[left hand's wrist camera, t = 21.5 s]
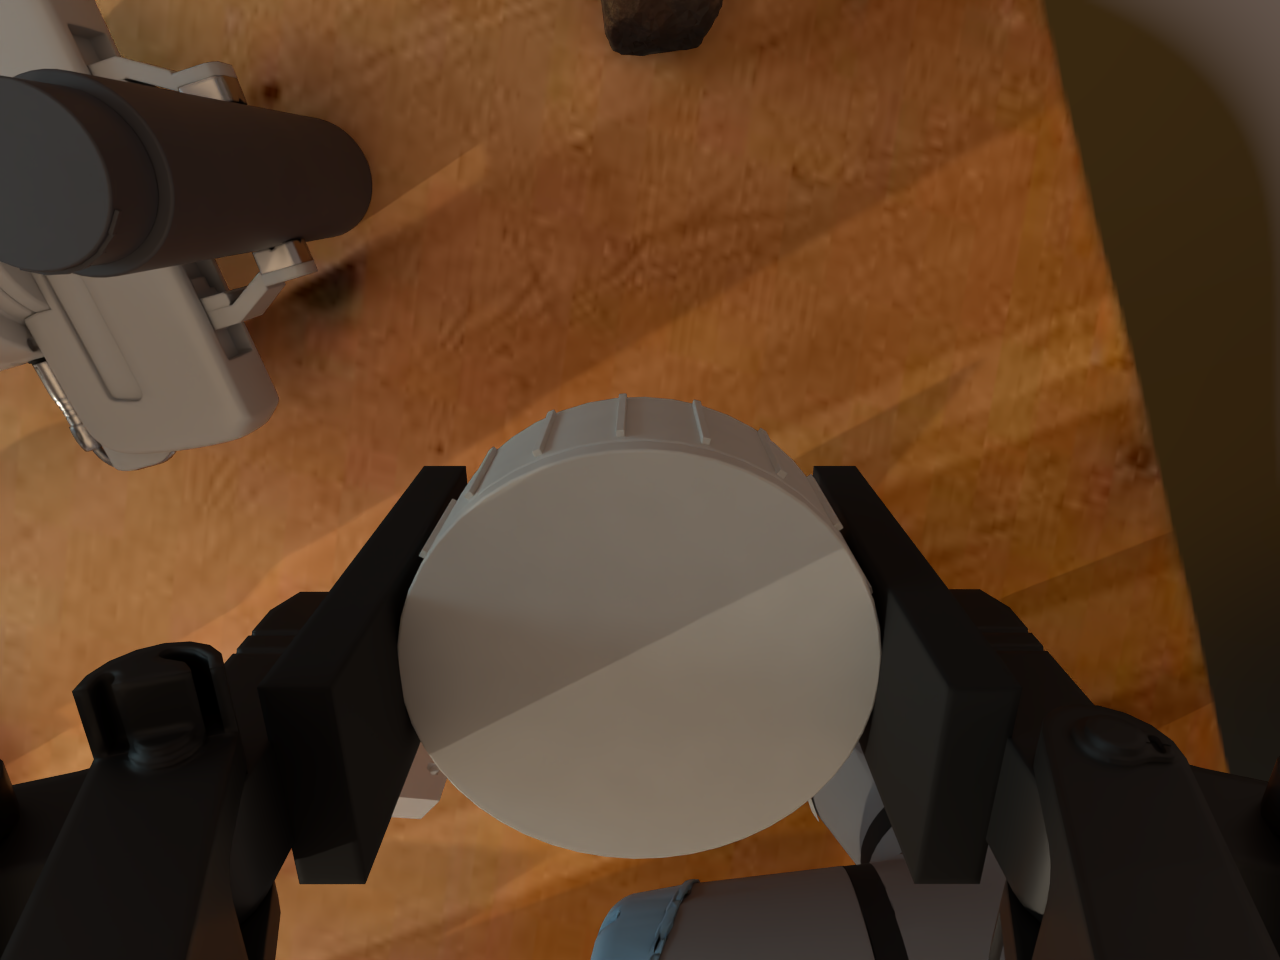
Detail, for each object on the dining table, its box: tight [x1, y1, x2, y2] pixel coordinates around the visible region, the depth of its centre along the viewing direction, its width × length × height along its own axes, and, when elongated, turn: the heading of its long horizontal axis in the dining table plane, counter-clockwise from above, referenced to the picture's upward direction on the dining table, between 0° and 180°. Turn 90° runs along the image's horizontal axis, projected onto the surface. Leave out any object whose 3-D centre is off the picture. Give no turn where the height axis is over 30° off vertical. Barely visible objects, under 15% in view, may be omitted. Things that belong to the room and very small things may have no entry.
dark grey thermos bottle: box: [0, 69, 372, 278], centre depth 29 cm, size 6×6×20 cm
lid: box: [397, 394, 882, 859], centre depth 11 cm, size 6×6×2 cm
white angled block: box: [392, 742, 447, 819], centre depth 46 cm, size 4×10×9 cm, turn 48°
